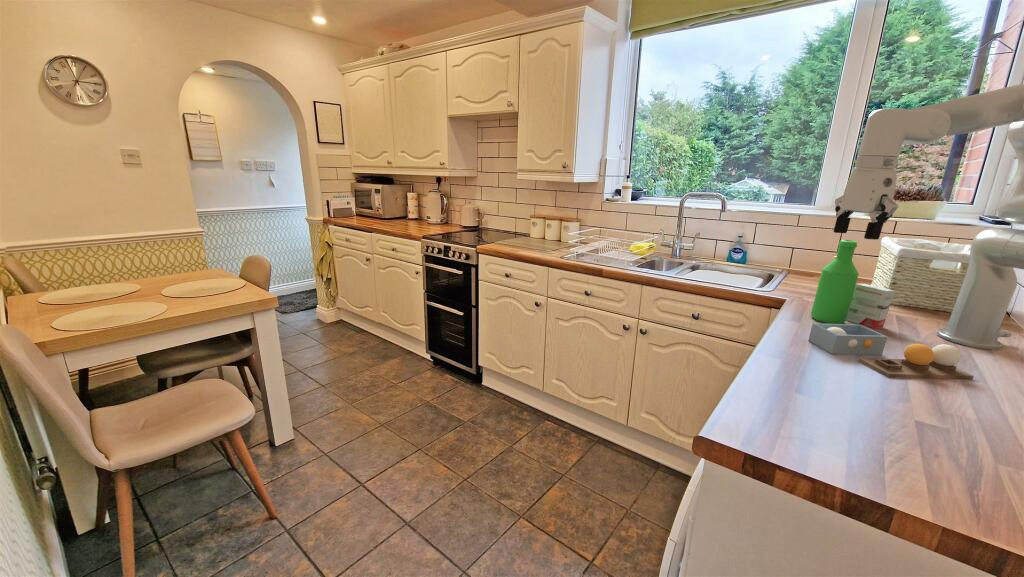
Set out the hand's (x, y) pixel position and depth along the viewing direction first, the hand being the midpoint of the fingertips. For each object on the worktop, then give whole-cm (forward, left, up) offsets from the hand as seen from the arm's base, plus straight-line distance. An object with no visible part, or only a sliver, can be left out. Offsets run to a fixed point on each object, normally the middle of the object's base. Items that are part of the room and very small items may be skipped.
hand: (854, 235), depth 104 cm
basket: (-67, -40, -29) cm, 83 cm away
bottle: (-14, -17, -29) cm, 36 cm away
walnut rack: (-9, +16, -29) cm, 34 cm away
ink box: (-24, -15, -29) cm, 40 cm away
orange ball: (-9, +16, -25) cm, 31 cm away
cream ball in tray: (+1, +4, -26) cm, 26 cm away
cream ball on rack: (-15, +16, -25) cm, 33 cm away
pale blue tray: (-2, +4, -29) cm, 29 cm away
